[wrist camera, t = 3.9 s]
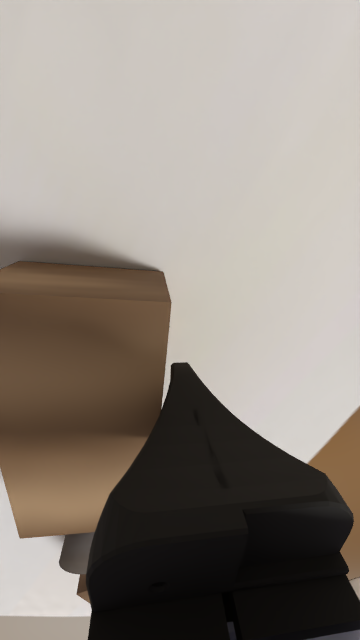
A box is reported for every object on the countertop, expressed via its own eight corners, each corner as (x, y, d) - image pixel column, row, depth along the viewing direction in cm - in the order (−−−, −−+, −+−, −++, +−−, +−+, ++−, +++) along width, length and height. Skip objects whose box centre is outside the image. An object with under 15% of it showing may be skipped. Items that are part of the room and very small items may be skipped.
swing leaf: (146, 484, 17) (147, 567, 13) (54, 489, 16) (25, 580, 12) (162, 271, 11) (172, 307, 7) (18, 261, 10) (-59, 295, 6)
